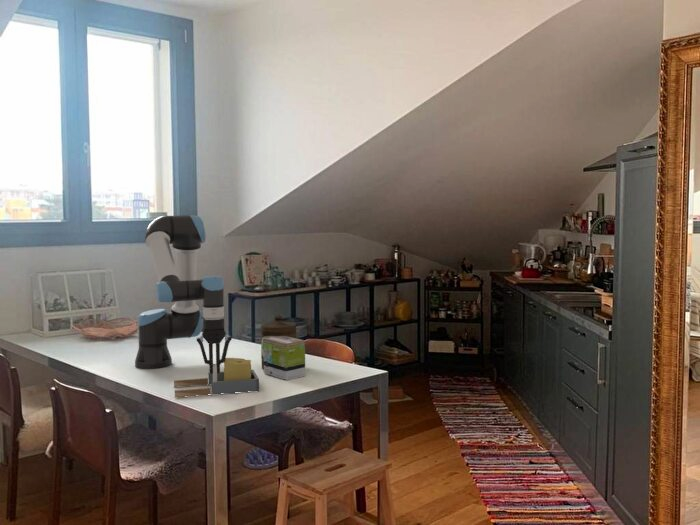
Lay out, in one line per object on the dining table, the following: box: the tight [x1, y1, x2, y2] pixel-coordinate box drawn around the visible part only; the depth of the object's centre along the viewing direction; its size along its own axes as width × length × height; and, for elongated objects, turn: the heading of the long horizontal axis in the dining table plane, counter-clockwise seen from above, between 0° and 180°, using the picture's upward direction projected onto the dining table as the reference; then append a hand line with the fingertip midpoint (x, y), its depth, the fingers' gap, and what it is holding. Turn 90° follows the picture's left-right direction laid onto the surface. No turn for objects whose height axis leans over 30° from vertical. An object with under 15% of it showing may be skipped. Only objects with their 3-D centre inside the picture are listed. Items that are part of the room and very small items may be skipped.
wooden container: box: [260, 314, 297, 370], centre depth 293 cm, size 15×15×22 cm
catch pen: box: [207, 369, 260, 395], centre depth 262 cm, size 16×17×4 cm
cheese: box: [223, 357, 252, 381], centre depth 262 cm, size 10×11×10 cm
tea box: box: [263, 336, 306, 381], centre depth 280 cm, size 15×10×15 cm
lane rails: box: [173, 377, 212, 398], centre depth 258 cm, size 16×12×2 cm
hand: (214, 382), depth 260 cm, fingers closed
